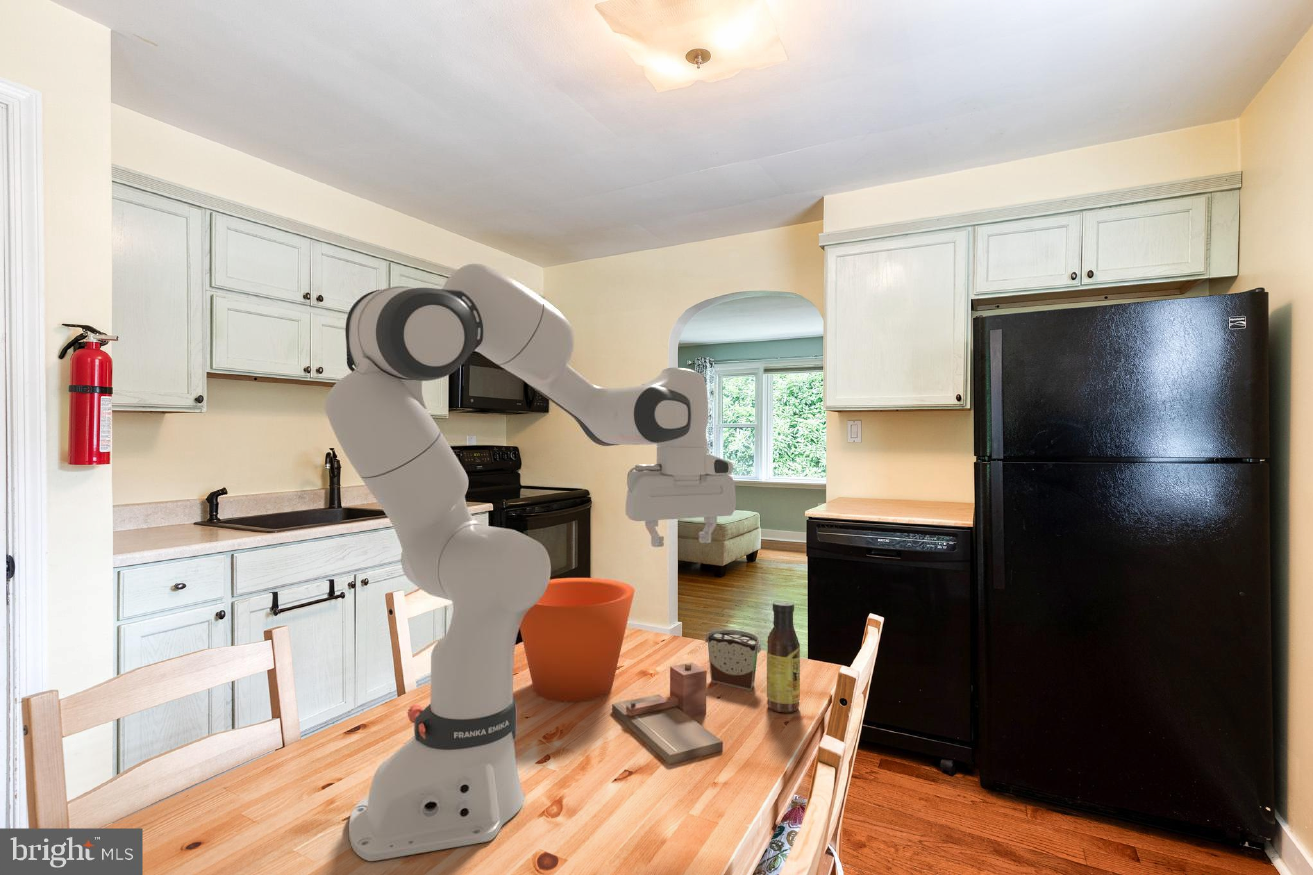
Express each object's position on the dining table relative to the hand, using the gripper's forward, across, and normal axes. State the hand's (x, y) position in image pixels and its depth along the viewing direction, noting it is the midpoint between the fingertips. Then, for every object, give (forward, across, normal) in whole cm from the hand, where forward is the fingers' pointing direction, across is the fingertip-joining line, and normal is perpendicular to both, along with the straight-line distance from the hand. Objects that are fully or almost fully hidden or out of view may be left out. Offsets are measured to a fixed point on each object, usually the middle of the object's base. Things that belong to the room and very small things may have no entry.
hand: (681, 544), depth 110 cm
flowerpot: (+33, -8, +30) cm, 46 cm away
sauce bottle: (+33, +24, +2) cm, 41 cm away
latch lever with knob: (+33, +2, +9) cm, 34 cm away
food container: (+33, +24, +17) cm, 44 cm away
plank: (+33, -1, +4) cm, 33 cm away
